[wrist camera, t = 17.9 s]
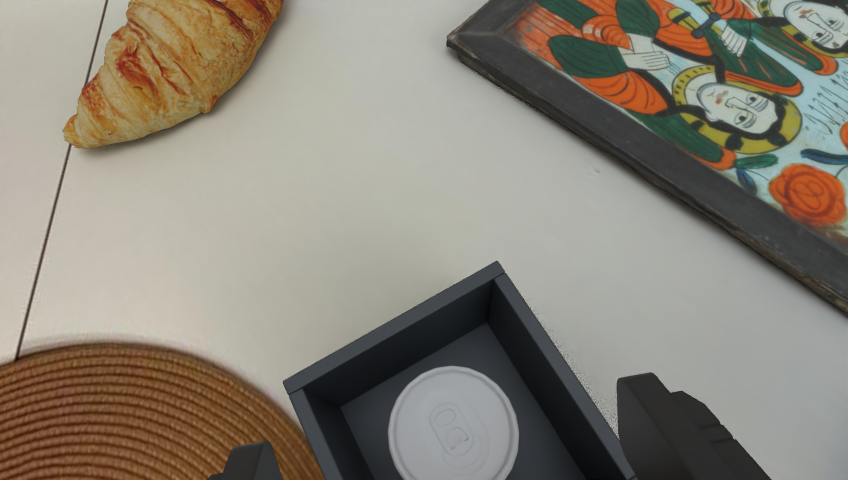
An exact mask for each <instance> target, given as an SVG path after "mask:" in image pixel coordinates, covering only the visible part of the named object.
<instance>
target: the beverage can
mask: <svg viewBox="0 0 848 480" xmlns="http://www.w3.org/2000/svg"><path fill="white" fill-rule="evenodd" d="M388 439H389V450H390V453H391V456H392V459H393V462H394V464H395V467H396V469H397V470H398V472H399V473H400V475H401V476H402V478H403V479H404V480H505V478H506V477H507V475H508V474H509V472H510V471H511V470H512V467H513V464H514V461H515V458H516V455H517V452H518V442H519V429H518V424H517V418H516V414H515V412H514V410H513V407H512V405H511V403H510V401H509V398H508V397H507V396H506V395H505V393H504V392H503V391H502V390H501V388H500V387H499V386H498V385H497V384H496V383H495V382H493V381H492V380H491V379H489V378H488V377H487V376H486V375H484V374H482V373H480V372H477V371H475V370H472V369H470V368H465V367H458V366H446V367H439V368H435V369H432V370H430V371H427V372H425V373H423V374H421V375H419V376H418V377H417V378H415V379H414V380H413V381H412V382H410V383H409V384H408V385H407V386H406V387H405V389H404V390H403V391H402V393H401V394H400V395H399V396H398V398H397V400H396V402H395V405H394V407H393V410H392V412H391V415H390V421H389V427H388Z"/></svg>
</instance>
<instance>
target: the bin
mask: <svg viewBox="0 0 848 480" xmlns="http://www.w3.org/2000/svg"><path fill="white" fill-rule="evenodd" d="M446 366H458V367H465V368H470V369H472V370H475V371H477V372H480V373H482V374H484V375H486V376H487V377H488V378H489V379H491V380H492V381H493V382H495V383H496V384H497V385H498V386H499V387H500V388H501V390H502V391H503V392H504V393H505V395H506V396H507V397H508V398H509V401H510V403H511V405H512V407H513V410H514V412H515V414H516V418H517V424H518V429H519V442H518V452H517V455H516V458H515V461H514V464H513V467H512V470H511V471H510V472H509V474H508V475H507V477H506V478H505V480H638V479H637V477H636V475H635V473H634V472H633V470H632V468H631V466H630V465H629V463H628V461H627V459H626V457H625V455H624V453H623V450H622V447H621V443H620V441H619V439H618V438H617V436H616V435H615V433H614V432H613V430H612V429H611V427H610V426H609V424H608V423H607V421H606V420H605V418H604V417H603V415H602V414H601V412H600V411H599V410H598V408H597V407H596V405H595V404H594V402H593V401H592V399H591V398H590V396H589V395H588V393H587V392H586V390H585V389H584V387H583V386H582V384H581V383H580V381H579V380H578V379H577V377H576V376H575V374H574V373H573V371H572V370H571V368H570V367H569V365H568V364H567V362H566V361H565V359H564V358H563V356H562V355H561V353H560V352H559V350H558V349H557V348H556V346H555V345H554V343H553V342H552V340H551V339H550V337H549V336H548V334H547V333H546V331H545V330H544V328H543V327H542V325H541V324H540V322H539V321H538V320H537V318H536V317H535V315H534V314H533V312H532V311H531V309H530V308H529V306H528V305H527V303H526V302H525V300H524V299H523V297H522V296H521V294H520V293H519V291H518V290H517V289H516V287H515V286H514V284H513V283H512V281H511V280H510V278H509V277H508V275H507V274H506V273H505V271H504V269H503V268H502V266H501V265H500V263H499V262H498V261H495V262H494V263H492V264H490V265H488V266H487V267H485V268H483V269H481V270H479V271H478V272H476V273H474V274H472V275H471V276H469V277H467V278H465V279H463V280H462V281H460V282H458V283H456V284H455V285H453V286H451V287H449V288H447V289H446V290H444V291H442V292H440V293H439V294H437V295H435V296H433V297H431V298H430V299H428V300H426V301H424V302H423V303H421V304H419V305H417V306H415V307H414V308H412V309H410V310H408V311H407V312H405V313H403V314H401V315H399V316H398V317H396V318H394V319H392V320H391V321H389V322H387V323H385V324H384V325H382V326H380V327H378V328H376V329H375V330H373V331H371V332H369V333H368V334H366V335H364V336H362V337H360V338H359V339H357V340H355V341H353V342H352V343H350V344H348V345H346V346H344V347H343V348H341V349H339V350H337V351H336V352H334V353H332V354H330V355H328V356H327V357H325V358H323V359H321V360H320V361H318V362H316V363H314V364H312V365H311V366H309V367H307V368H305V369H304V370H302V371H300V372H298V373H297V374H295V375H293V376H291V377H289V378H288V379H286V380H284V381H283V384H284V387H285V389H286V391H287V393H288V395H289V398H290V400H291V402H292V405H293V407H294V409H295V412H296V414H297V416H298V418H299V421H300V423H301V425H302V428H303V430H304V432H305V434H306V437H307V439H308V441H309V444H310V446H311V448H312V450H313V453H314V455H315V457H316V460H317V462H318V464H319V466H320V469H321V471H322V473H323V476H324V478H325V480H404V479H403V478H402V476H401V475H400V473H399V472H398V470H397V469H396V467H395V464H394V462H393V459H392V456H391V453H390V450H389V439H388V427H389V421H390V415H391V412H392V410H393V407H394V405H395V402H396V400H397V398H398V396H399V395H400V394H401V393H402V391H403V390H404V389H405V387H406V386H407V385H408V384H409V383H410V382H412V381H413V380H414V379H415V378H417V377H418V376H419V375H421V374H423V373H425V372H427V371H430V370H432V369H435V368H439V367H446Z"/></svg>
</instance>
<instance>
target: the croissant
mask: <svg viewBox="0 0 848 480" xmlns="http://www.w3.org/2000/svg"><path fill="white" fill-rule="evenodd" d="M282 4H283V0H131V1H130V2H129V5H128V10H127V12H126V16H127V19H128V21H127V23H126V26H123V27H121V28H120V29H119V30H118V31H116V32H115V33H114V34H112V35H111V36H112V37H111V39H110V40H109V41H108V43H107V44H106V48H105V56H104V62H105V63H104V65H103V66H101V67H100V69H99V71H98V73H97V74H96V76H95V77H94V78H93V79H92V80H91V81H90V82H89V83H88V84H86V85H85V86H84V87H83V88H82V91H81V94H80V97H79V99H78V107H77V114H76V115H74V116H72V117H71V118H70V119H69V120H68V122H67V123H66V125H65V127H64V129H63V133H64V139H65V141H67V142H69V143H70V144H72V145H74V146H75V148H85V149H93V148H95V147H97V146H106V145H108V144H113V143H118V142H126V141H132V140H135V139H138V138H141V137H145V136H146V135H148V134H150V133H153V132H157V131H160V130H162V129H166V128H171V127H172V126H174V125H176V124H178V123H180V122H182V121H184V120H186V119H188V118H191V117H194V116H196V115H198V114H200V113H201V112H203V113H208V112H210V111H211V110H212V108H213V106H214V104H215V102H216V101H217V100H218V99H219V97H220V96H221V95H222V94H223V93H225V92H226V91H228V90H229V89H230V88H231V87H232V86H233V85H235V84H236V83H237V81H238V80H239V79H240V78H241V77H242V76H243V75H244V74H245V72H246V71H247V70H248V69H249V67H250V65H251V64H252V62H253V60H254V58H255V55H256V52H257V50H258V49H259V47H260V46H261V45H262V43H263V40H264V38H265V36H266V34H267V33H268V31H269V30H270V28H271V26H272V24H273V23H274V22H275V20H276V19H277V18H278V16H279V13H280V12H281V9H282Z"/></svg>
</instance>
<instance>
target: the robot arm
mask: <svg viewBox="0 0 848 480" xmlns="http://www.w3.org/2000/svg"><path fill="white" fill-rule="evenodd" d="M617 410H618V433H619V439H620V443H621V447H622V450H623V453H624V455H625V457H626V459H627V461H628V463H629V465H630V466H631V468H632V470H633V472H634V473H635V475H636V477H637V479H638V480H771V479H770V477H769V476H768V475H767V474H766V473H765V472H764V471H763V470H762V468H761V467H760V466H759V465H758V464H757V463H756V462H755V461H754V459H753V458H752V457H751V456H750V455H749V454H748V453H747V451H746V450H745V449H744V448H743V447H742V446H741V445H740V444H739V442H738V441H737V440H736V439H735V440H734V439H733V437H732V435H731V433H730V432H729V431H728V430H727V429H726V428H725V427H724V426H723V425H721V424H720V421H719V420H718V419H717V418H716V417H715V415H714V414H713V413H712V412H711V411H710V410H709V409H708V408H707V406H706V405H705V404H704V403H702V402H700V401H698V400H697V399H695V398H693V397H692V396H690V395H688V394H687V393H685V392H683V391H678V392H673V393H670V392H669V391H668V390H667V388H666V387H665V386H664V385H663V384H662V382H661V381H660V380H659V379H658V377H657V376H656V375H655V374H653V373H651V372H650V373H644V374H639V375H633V376H628V377H622V378H619V379H618V380H617ZM207 480H283V478H282V475H281V472H280V469H279V466H278V463H277V460H276V457H275V454H274V451H273V448H272V446H271V444H270V442H269V441H262V442H257V443H251V444H246V445H240V446H235V447H233V449H232V450H231V452H230V455H229V457H228V460H227V463H226V466H225V468H224V471H223V473H220V474H214V475H211V476H210V477H209V478H208V479H207Z"/></svg>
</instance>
